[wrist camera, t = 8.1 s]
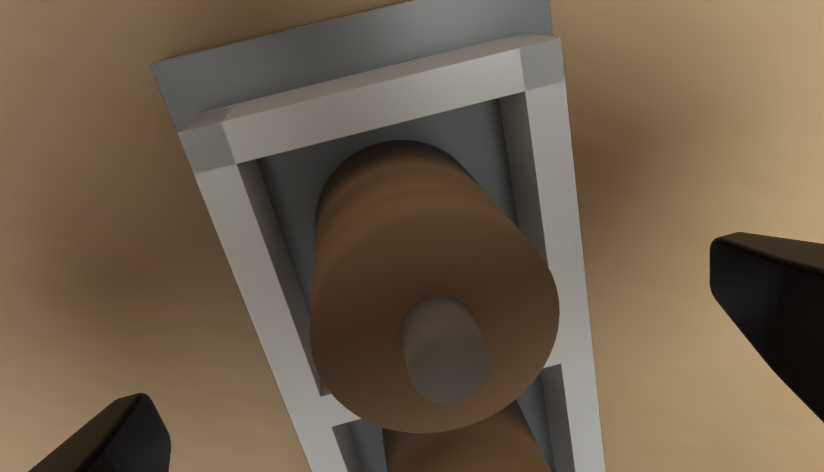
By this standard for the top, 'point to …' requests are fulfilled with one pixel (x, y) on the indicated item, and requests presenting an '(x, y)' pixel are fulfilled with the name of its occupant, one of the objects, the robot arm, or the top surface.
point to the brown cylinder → (424, 293)
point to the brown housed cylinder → (468, 447)
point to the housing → (370, 124)
